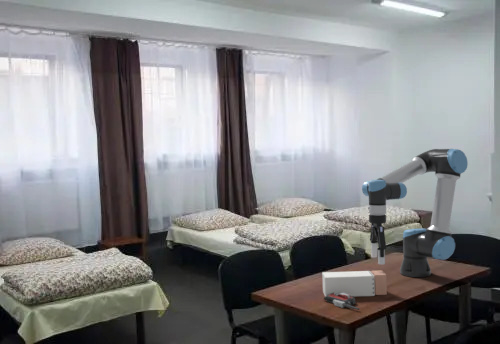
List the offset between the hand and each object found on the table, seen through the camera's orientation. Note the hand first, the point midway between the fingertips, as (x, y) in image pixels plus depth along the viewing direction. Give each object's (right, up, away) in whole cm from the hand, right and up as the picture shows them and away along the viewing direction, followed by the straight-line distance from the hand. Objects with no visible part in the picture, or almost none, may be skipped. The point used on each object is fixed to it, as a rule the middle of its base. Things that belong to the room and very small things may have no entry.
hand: (377, 260), depth 234 cm
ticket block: (-13, -15, +1) cm, 20 cm away
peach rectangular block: (+1, -15, +1) cm, 15 cm away
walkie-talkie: (-17, -17, -14) cm, 28 cm away
